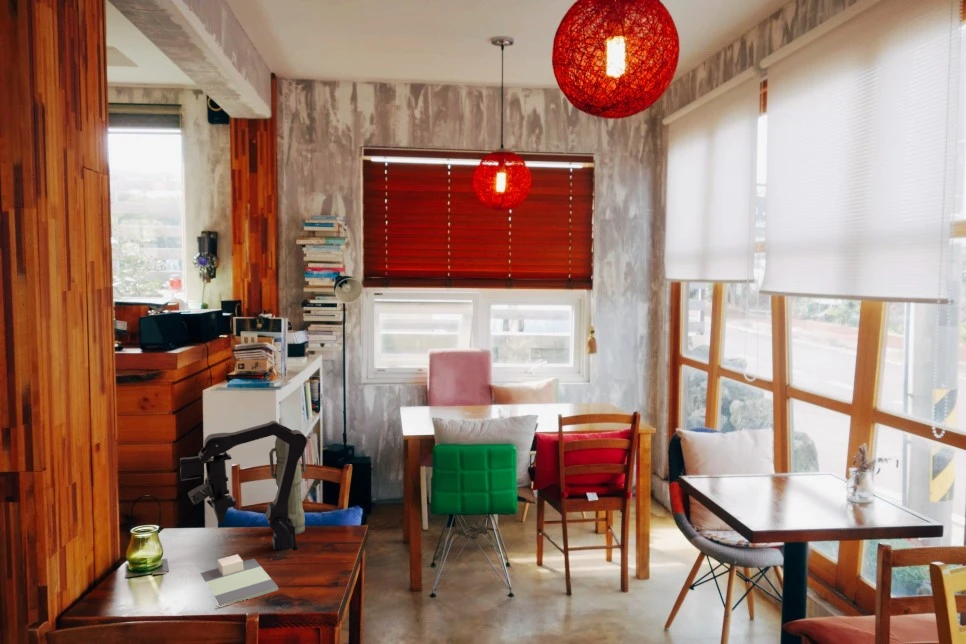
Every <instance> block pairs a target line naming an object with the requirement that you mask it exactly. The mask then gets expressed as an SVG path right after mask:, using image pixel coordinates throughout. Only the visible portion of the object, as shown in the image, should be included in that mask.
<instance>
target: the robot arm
mask: <svg viewBox="0 0 966 644" xmlns="http://www.w3.org/2000/svg"><path fill="white" fill-rule="evenodd" d="M271 436H274V437H275V438H276V437H278V438H279V439H281V440H283V441H284V442H286V445H285V451H286V457H285V462H284V466H283V470H282V474H281V478H280V482H279V486H277V491H276V495H275V498H274V500H273V501H272V503H271V502H268V503H267V510H266V512H265V513H264V515H265V516H266V517H265V518H266V521H267V523H268V525H269V527H270V529H271V530H272V531H273V536H272V537H271V539H272V549H273V550H274V551H283V550H284V551H285V550H290V549H291V550H293V551H296V550H298V549H299V547H298V546H297V539H296V535H295V527H294V525H293V523H292V521H291V519H290V518H288V500H289V496H290V492H291V488H292V484H293V480H294V476H295V472H296V468H297V464H298V460H299V461H300V459H301V458H302V454H303V452H304V450H306V447H307V445H308V439H307V436H305V434H304V433H302V431H300V430H298V429H293V430H292V429H290V428H288V427H287V426H285V425H283V424H281V423H279V422H278V421H276V420H271V421H269V422H266V423H263V424H259V425H255V426H252V427H249V428H244V429H240V430H238V431H234V432H217V433H211V434H208V435H207V436H206V437H205V438H204V441H203V447H202V448H201V449H200V451H199V452H198V456H190V457H181V458H180V459H179V460H180V466H179V468H180V469H179V471H180V482H181V481H188V480H194V479H199V478H200V479H201V477H203V475H205V471H206V477H205V479H204V483H202V484H201V485H199V486H196V487H195V488H193V489H191V490H189V491H188V492H187V495H188V498H190V500H191V502H192V503H193V505H198V504H199V503H200V502H202V501H203V500H206V499H207V498H208V500H206V503H207V504H208V505H209V506H210V508H212V509H213V511H214V514H215V517H216V520H217V523H218V524H219V525H220V524H223V522H224V520H225V516H226V515H227V512H228V510H229V509H230V508H235V507H236V506H237V501H236V499H235V497H233V496H232V495H231V494H230V490H229V488H228V481H229V477H228V476H227V468H226V461H230V460H232V459H233V458H232V455H231V454H229V453H228V451H229V450H231V449H232V448H234V447H237V446H240V445H244V444H246V443H251V442H254V441H258V440H260V439H265V438H268V437H271ZM204 464H205V467H204Z"/></svg>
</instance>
